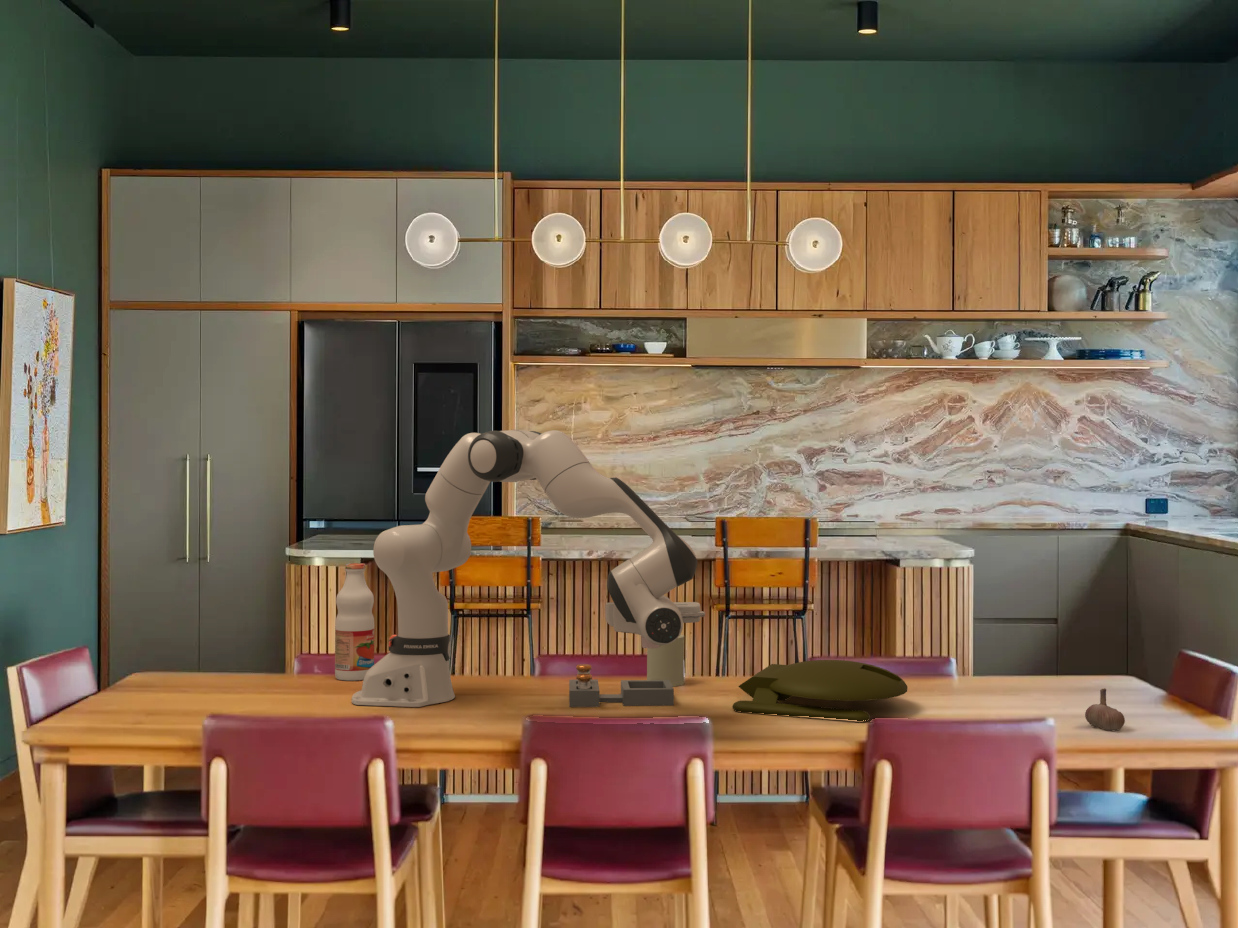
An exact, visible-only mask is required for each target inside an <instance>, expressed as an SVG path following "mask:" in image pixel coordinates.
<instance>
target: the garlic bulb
mask: <svg viewBox="0 0 1238 928" xmlns="http://www.w3.org/2000/svg"><path fill="white" fill-rule="evenodd" d="M1099 694H1100V696H1099V697H1100V698H1099V701H1100V702H1099V704H1098V703H1096V704H1095V703H1094V704H1091V705H1090V706H1088V707H1087V709H1086V710H1085V712H1084V715H1085V716H1084V717H1085V719H1086V722H1087V723H1089V725H1091V726H1093V727H1094V728H1095V727H1096V728H1097V727H1098V728H1100V729H1103V730H1105V731H1112V730H1115V731H1119V730H1121V728H1123V726H1124V725H1125V722H1126V719H1125V718H1126V717H1125V715H1124V713H1122V712H1121V711H1119V710H1117V708H1115V707H1114V708H1113V707H1111V706H1109V705H1107V689H1106V688H1101V689H1100V693H1099Z"/></svg>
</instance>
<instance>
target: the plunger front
mask: <svg viewBox="0 0 1238 928" xmlns="http://www.w3.org/2000/svg"><path fill="white" fill-rule="evenodd" d="M591 679H593V675H592V674H591V673H590V674H578V673H577V674H576V680H578V689H591Z"/></svg>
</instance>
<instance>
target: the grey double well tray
mask: <svg viewBox="0 0 1238 928" xmlns="http://www.w3.org/2000/svg"><path fill="white" fill-rule="evenodd" d="M568 686H569V687H568V688H569V689H568V691H569V692H568V693H569V694H568V695H569V696H568V697H569V699H568V700H569V701H568V702H569V703H568V704H569V705H568V706H569V707H568V708H599V707H600V703H599V702H607V703H622V705H623V707H624V706H625V707H627V706H629V707H631V706H632V707H634V706H636V707H637V706H638V707H641V706H643V707H644V706H646V707H647V706H648V707H649V706H652V707H653V706H655V707H657V706H662V707H663V706H666V707H667V706H674V703H675V702H674V701H675V700H674V699H675V697H674V696H675V695H674V694H675V690H674V687H672V685H671V683H670V681H669V680H647V679H621V680H620V694H619V693H617V694H616V693H615V694H613V693H612V694H611V693H610V694H609V693H607V694H606V693H603V694H601V693H600V692H601V691H600V686H599V679H593V678H592V679H591V689H578V679H569V681H568Z"/></svg>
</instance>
